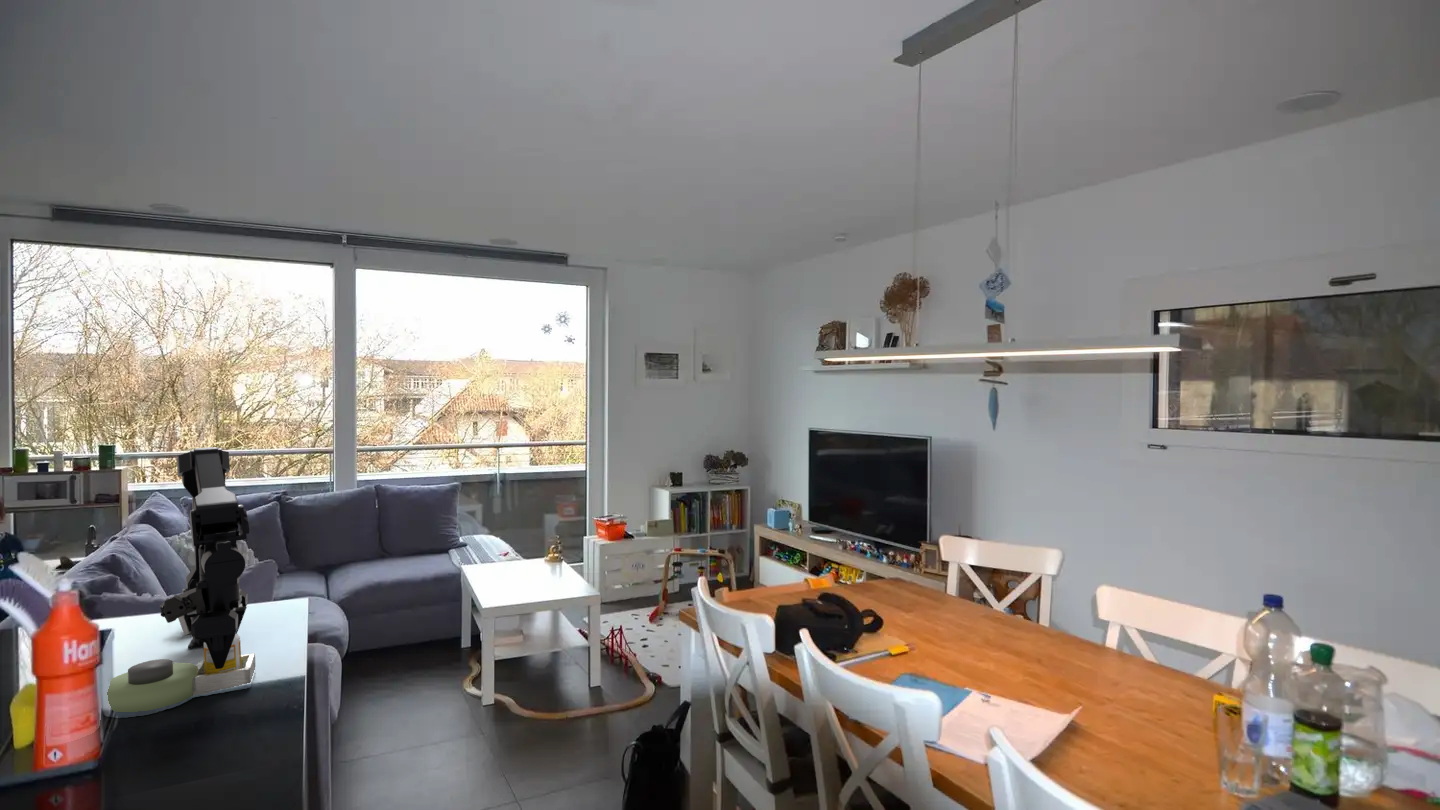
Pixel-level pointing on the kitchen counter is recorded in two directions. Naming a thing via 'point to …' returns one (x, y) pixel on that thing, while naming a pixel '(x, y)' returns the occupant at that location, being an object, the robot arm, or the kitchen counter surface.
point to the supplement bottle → (231, 661)
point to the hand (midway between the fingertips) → (223, 659)
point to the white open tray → (224, 676)
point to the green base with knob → (151, 686)
